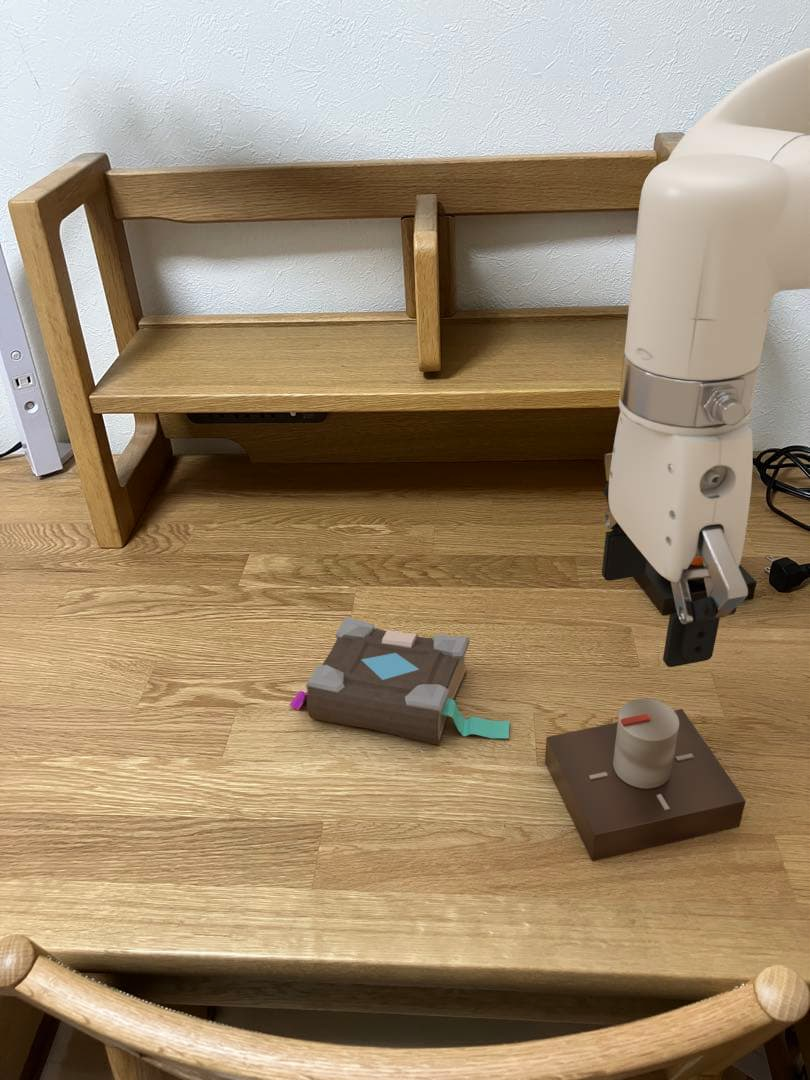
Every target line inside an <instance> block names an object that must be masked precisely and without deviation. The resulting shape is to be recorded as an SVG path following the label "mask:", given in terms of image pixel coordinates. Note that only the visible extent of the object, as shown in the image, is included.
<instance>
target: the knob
mask: <svg viewBox="0 0 810 1080" xmlns="http://www.w3.org/2000/svg"><path fill="white" fill-rule="evenodd" d="M674 711H675V710H674V709H673V708H672V707H670V706H669V705H668V704H666V703H664V702H662V701H660V700H656V699H653V698H635V699H632V700H630V701H628V702H625V704H624V705H622V706H621V708H620V709H619V712H618V716H617V717H618V718H617V722H618V725H617V733H616V741H615V750H614V758H613V767H614V770H615V772H616V774H617V775H618V776H619V777H620V778H621V779H622V780H623V781H624V782H626V783H627V784H629V785H632V786H634V787H638V788H644V789H650V788H656V787H659V786H661V785H663V784H664V783H665V782H666V781H667V780H668V779H669V777H670V775H671V770H672V764H673V758H674V752H675V747H676V741H677V735H678V730H679V719H678V716H677V715H676V713H675V712H674Z"/></svg>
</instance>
